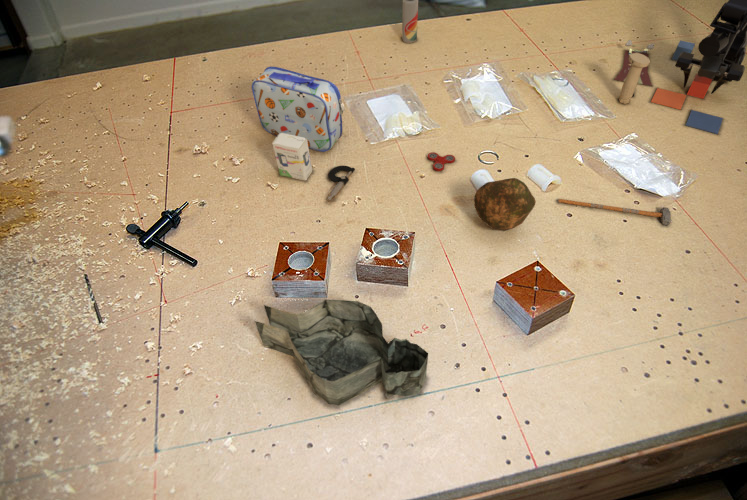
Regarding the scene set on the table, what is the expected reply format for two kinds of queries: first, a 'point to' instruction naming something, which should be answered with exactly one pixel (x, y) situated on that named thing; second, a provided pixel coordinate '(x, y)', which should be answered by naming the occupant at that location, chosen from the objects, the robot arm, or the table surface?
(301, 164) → the ink box
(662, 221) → the sledgehammer
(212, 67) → the table surface
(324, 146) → the lunch box
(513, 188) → the rock
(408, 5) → the spray bottle
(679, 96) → the orange square mat
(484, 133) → the table surface
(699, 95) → the red block
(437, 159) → the fidget spinner
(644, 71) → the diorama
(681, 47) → the blue block
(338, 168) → the micrometer
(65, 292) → the table surface
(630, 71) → the handle
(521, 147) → the table surface
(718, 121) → the blue mat
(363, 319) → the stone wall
